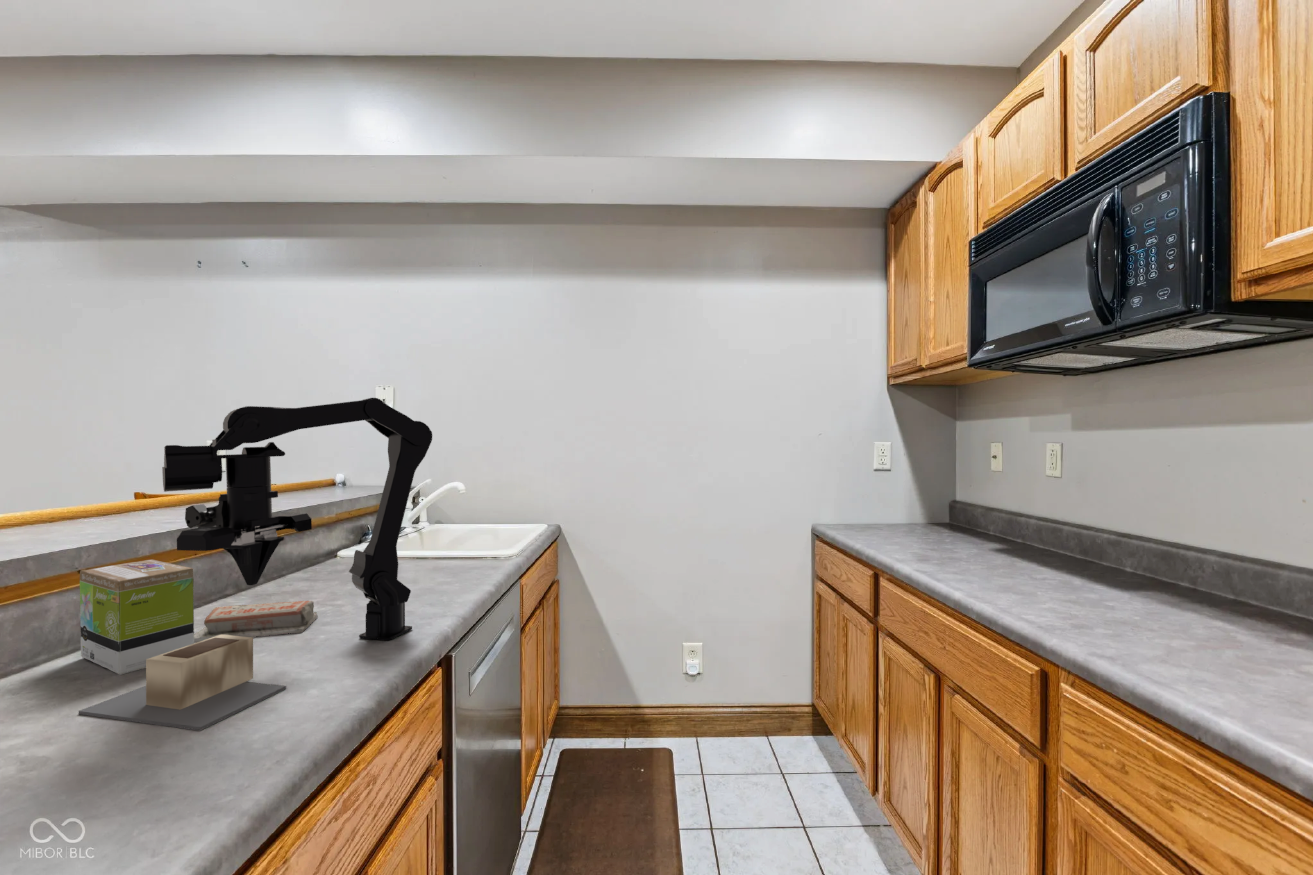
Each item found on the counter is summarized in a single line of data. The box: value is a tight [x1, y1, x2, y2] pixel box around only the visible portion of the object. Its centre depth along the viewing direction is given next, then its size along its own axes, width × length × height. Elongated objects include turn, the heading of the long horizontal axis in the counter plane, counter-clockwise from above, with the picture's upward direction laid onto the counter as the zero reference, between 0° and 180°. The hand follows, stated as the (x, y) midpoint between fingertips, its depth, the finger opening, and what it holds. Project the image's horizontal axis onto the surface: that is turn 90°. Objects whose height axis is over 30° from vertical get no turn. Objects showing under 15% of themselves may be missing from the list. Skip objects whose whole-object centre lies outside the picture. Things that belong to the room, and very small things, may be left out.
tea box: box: [79, 558, 195, 676], centre depth 93 cm, size 15×10×15 cm
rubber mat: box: [78, 681, 287, 731], centre depth 77 cm, size 12×20×1 cm, turn 77°
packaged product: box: [194, 600, 319, 643], centre depth 107 cm, size 18×5×10 cm
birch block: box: [145, 634, 254, 710], centre depth 79 cm, size 6×6×10 cm
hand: (252, 584), depth 89 cm, fingers closed
